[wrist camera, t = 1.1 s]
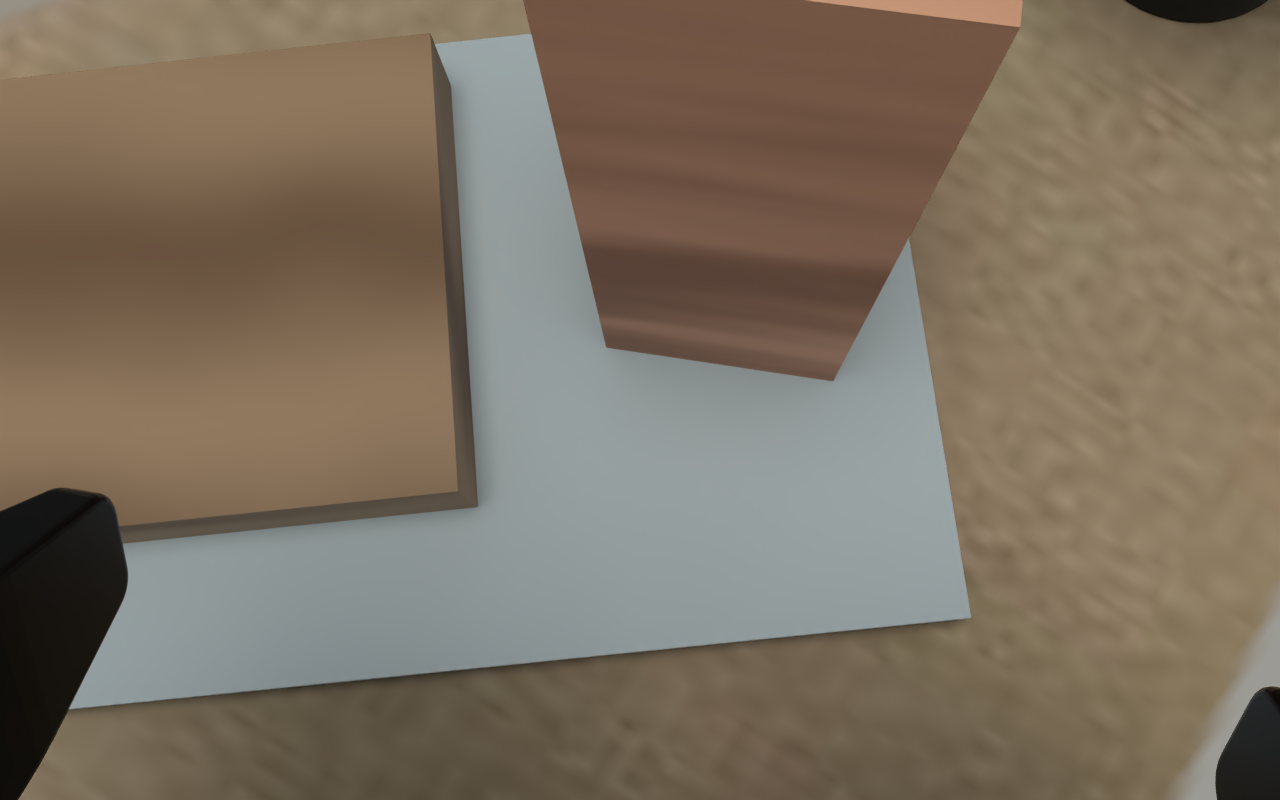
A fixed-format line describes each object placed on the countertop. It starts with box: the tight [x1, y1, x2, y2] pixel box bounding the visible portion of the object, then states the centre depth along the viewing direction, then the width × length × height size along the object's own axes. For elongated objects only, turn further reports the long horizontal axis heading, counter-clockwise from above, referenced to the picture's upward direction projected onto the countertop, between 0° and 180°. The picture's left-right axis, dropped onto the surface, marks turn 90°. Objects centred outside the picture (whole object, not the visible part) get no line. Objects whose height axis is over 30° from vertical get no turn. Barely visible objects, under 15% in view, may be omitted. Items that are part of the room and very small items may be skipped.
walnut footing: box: [0, 33, 478, 544], centre depth 22 cm, size 9×9×2 cm
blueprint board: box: [69, 34, 971, 710], centre depth 23 cm, size 13×18×1 cm
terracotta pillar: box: [523, 0, 1023, 381], centre depth 17 cm, size 4×4×12 cm
